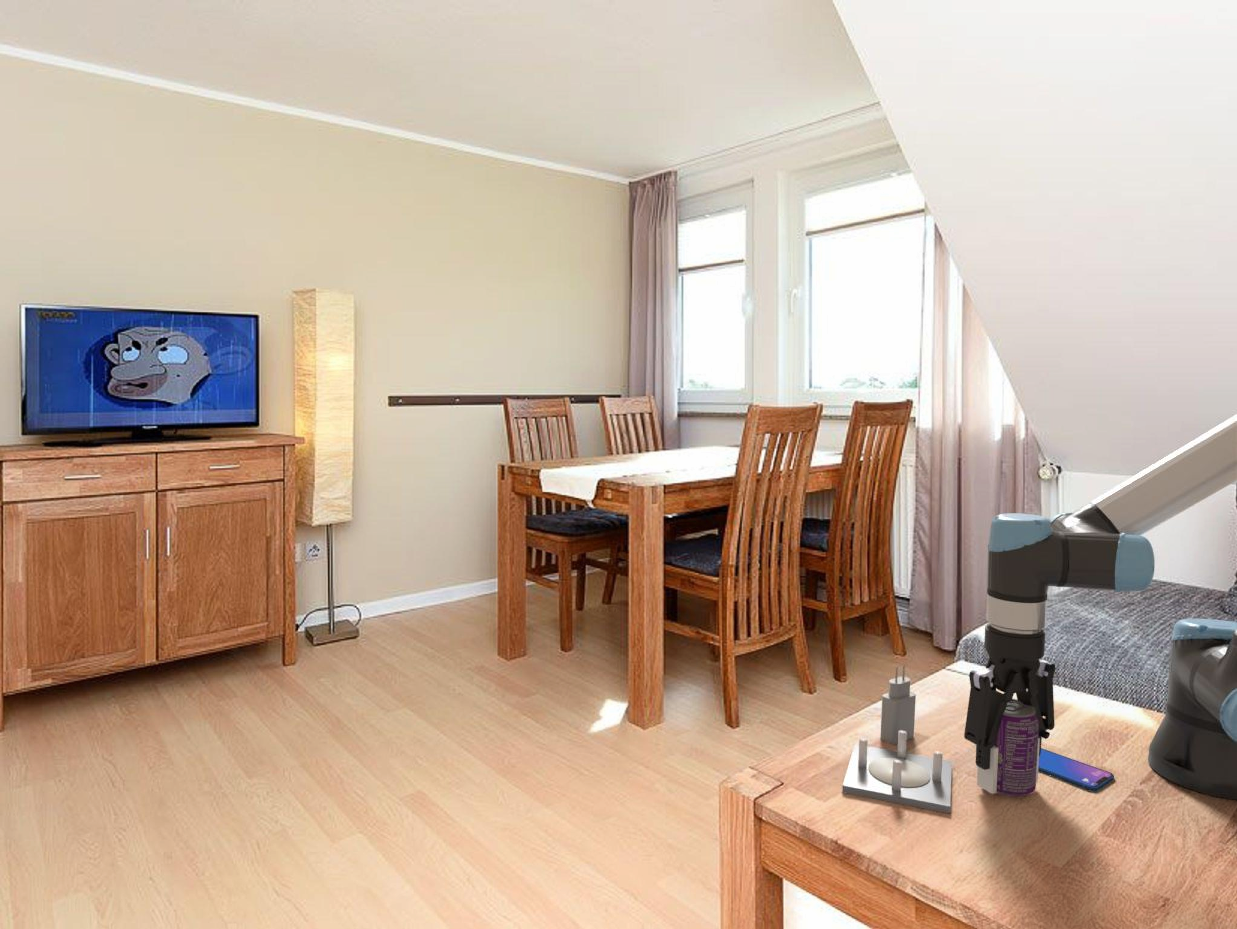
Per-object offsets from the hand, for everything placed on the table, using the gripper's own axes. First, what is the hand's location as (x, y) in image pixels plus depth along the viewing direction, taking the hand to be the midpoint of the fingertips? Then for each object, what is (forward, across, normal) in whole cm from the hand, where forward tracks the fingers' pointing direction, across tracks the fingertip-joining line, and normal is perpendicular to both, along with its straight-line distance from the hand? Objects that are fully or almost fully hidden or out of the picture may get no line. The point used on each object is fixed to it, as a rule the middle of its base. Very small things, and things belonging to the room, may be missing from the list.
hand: (1007, 783), depth 114 cm
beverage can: (+1, 0, 0) cm, 1 cm away
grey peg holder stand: (+1, +12, -8) cm, 15 cm away
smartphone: (+2, -12, -3) cm, 13 cm away
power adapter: (+1, +3, -19) cm, 19 cm away
